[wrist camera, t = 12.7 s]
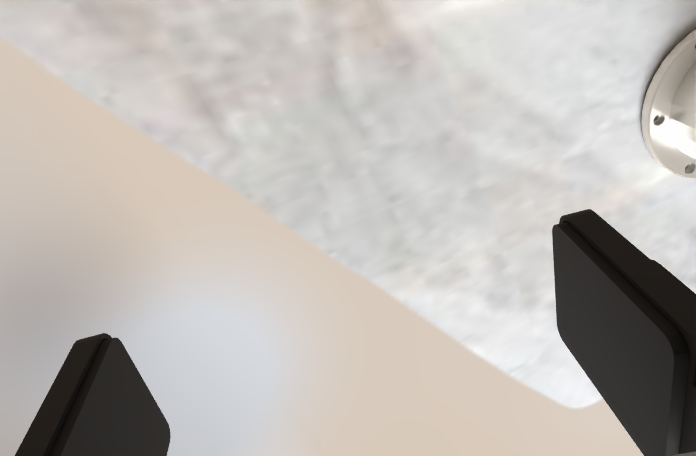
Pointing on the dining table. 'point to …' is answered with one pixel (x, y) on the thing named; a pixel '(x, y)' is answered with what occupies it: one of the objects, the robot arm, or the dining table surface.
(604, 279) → the robot arm
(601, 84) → the dining table surface
